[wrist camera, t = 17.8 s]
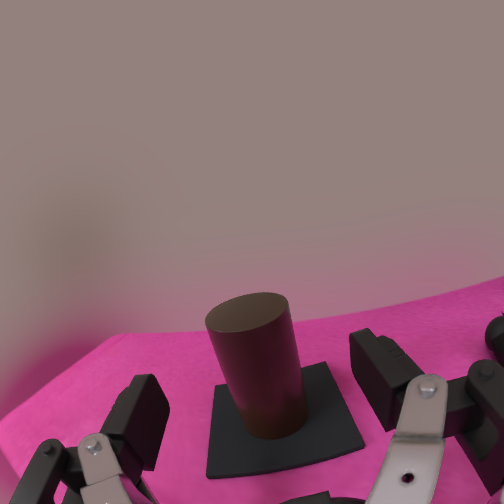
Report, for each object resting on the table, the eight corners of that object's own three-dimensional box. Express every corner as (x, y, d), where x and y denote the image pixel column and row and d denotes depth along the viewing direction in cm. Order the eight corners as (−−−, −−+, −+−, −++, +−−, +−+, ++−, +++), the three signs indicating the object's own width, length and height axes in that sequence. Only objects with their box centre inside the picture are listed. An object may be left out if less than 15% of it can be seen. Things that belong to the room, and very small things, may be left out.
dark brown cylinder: (301, 387, 19) (281, 285, 17) (315, 430, 15) (295, 318, 13) (242, 400, 19) (209, 302, 18) (244, 445, 15) (199, 339, 13)
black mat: (325, 365, 22) (325, 360, 22) (364, 448, 12) (365, 444, 12) (216, 389, 22) (215, 385, 22) (208, 479, 12) (205, 476, 12)
